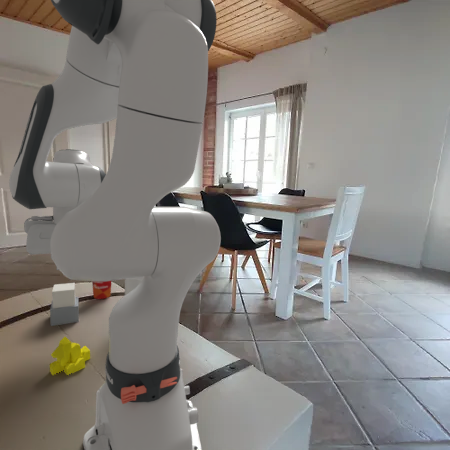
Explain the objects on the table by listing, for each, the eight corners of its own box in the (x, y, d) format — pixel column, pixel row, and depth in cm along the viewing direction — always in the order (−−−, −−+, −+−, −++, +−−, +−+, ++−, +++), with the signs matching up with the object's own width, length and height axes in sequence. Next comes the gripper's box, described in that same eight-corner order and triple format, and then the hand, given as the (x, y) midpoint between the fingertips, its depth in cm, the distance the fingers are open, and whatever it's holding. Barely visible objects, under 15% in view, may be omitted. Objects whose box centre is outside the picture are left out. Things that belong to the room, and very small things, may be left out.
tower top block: (74, 305, 82) (74, 289, 81) (52, 308, 79) (52, 291, 79) (75, 298, 87) (75, 282, 86) (54, 300, 84) (54, 284, 83)
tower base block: (78, 322, 82) (78, 306, 82) (50, 326, 79) (50, 309, 78) (78, 311, 89) (78, 296, 88) (52, 315, 85) (52, 299, 84)
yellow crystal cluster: (94, 363, 65) (94, 332, 64) (56, 381, 59) (55, 347, 58) (83, 352, 69) (82, 323, 68) (46, 367, 63) (45, 336, 61)
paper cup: (85, 298, 98) (84, 259, 95) (100, 290, 105) (100, 254, 103) (103, 302, 96) (103, 262, 93) (118, 294, 103) (118, 257, 101)
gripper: (21, 217, 64) (24, 276, 66) (116, 217, 73) (116, 268, 75) (26, 214, 69) (28, 268, 71) (114, 214, 79) (114, 261, 81)
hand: (74, 268), depth 73 cm, fingers closed on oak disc, 5 cm apart
